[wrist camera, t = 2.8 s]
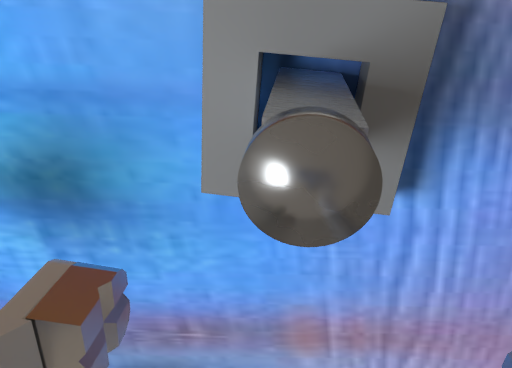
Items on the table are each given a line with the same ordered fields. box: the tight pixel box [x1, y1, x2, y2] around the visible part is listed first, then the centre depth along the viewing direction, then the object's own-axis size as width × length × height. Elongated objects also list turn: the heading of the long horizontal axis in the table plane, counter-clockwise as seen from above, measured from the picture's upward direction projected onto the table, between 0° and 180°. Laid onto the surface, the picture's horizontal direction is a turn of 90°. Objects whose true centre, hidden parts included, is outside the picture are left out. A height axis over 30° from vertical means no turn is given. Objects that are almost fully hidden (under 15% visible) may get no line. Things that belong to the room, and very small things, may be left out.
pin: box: [237, 67, 383, 247], centre depth 20 cm, size 5×5×14 cm
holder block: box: [201, 0, 447, 215], centre depth 24 cm, size 13×13×3 cm
